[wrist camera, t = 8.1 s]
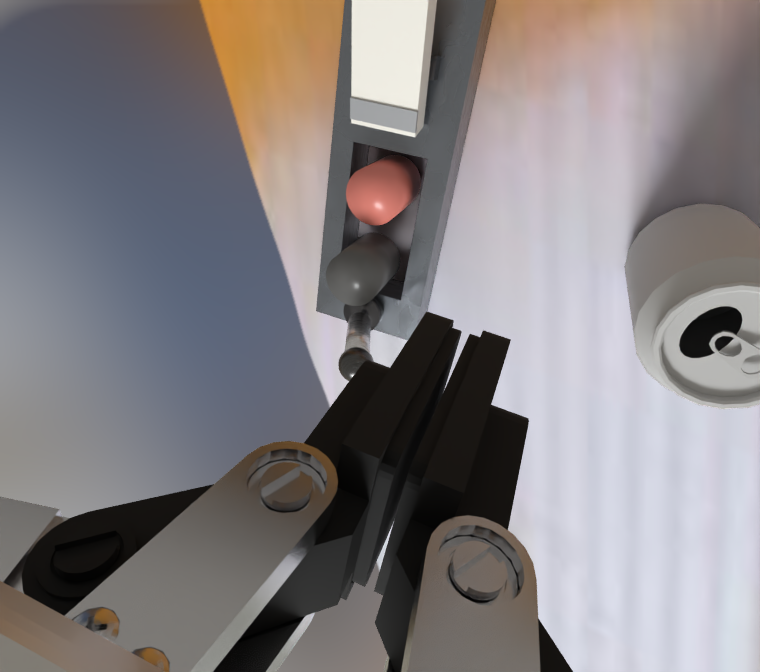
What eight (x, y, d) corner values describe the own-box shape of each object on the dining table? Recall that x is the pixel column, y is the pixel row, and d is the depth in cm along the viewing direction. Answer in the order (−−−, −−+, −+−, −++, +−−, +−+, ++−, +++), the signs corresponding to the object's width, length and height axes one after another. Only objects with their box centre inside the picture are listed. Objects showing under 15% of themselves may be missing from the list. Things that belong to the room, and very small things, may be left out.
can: (683, 175, 30) (726, 234, 20) (796, 243, 30) (896, 338, 20) (598, 274, 34) (600, 364, 24) (696, 335, 34) (738, 451, 24)
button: (375, 149, 35) (349, 160, 31) (425, 161, 34) (404, 174, 31) (368, 201, 37) (343, 217, 33) (415, 213, 36) (395, 231, 32)
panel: (367, -26, 31) (340, -36, 28) (497, -6, 29) (485, -14, 26) (332, 296, 42) (310, 316, 39) (424, 324, 41) (409, 348, 37)
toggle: (346, 301, 37) (339, 357, 30) (377, 305, 37) (375, 362, 31) (343, 328, 38) (335, 387, 32) (372, 331, 38) (370, 391, 32)
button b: (355, 227, 36) (328, 246, 32) (404, 240, 35) (381, 262, 32) (350, 273, 38) (323, 297, 34) (395, 286, 37) (373, 312, 33)
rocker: (363, -24, 26) (350, -17, 25) (438, -12, 25) (428, -5, 24) (361, 113, 31) (350, 123, 30) (423, 127, 30) (414, 138, 29)
